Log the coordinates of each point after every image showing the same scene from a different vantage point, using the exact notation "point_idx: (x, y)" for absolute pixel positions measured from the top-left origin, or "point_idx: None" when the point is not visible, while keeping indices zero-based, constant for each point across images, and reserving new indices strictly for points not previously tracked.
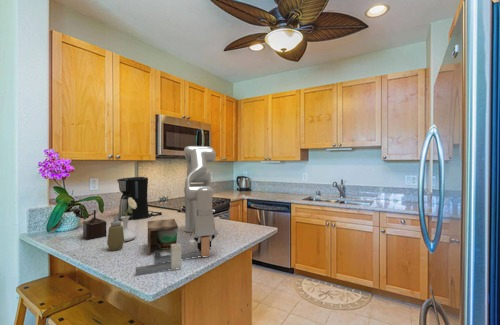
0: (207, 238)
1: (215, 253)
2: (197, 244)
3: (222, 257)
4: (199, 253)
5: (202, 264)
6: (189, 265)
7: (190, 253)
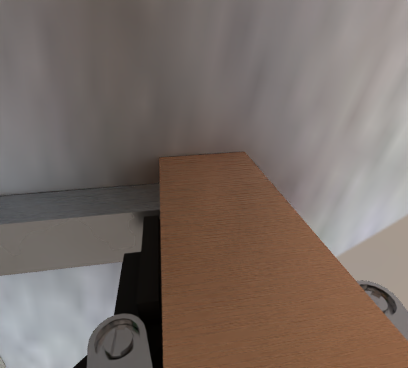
0: None
1: (316, 173)
2: (120, 305)
3: None
4: None
5: None
6: (64, 334)
7: (44, 260)
